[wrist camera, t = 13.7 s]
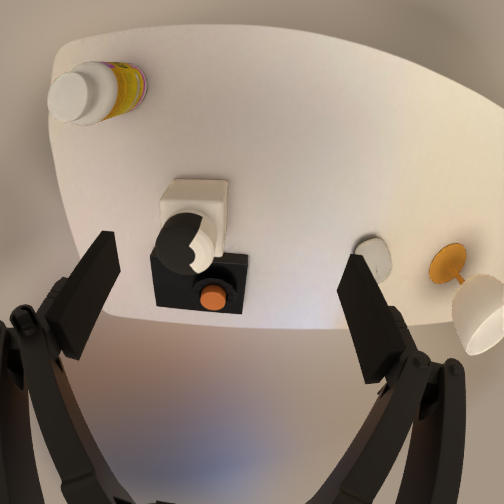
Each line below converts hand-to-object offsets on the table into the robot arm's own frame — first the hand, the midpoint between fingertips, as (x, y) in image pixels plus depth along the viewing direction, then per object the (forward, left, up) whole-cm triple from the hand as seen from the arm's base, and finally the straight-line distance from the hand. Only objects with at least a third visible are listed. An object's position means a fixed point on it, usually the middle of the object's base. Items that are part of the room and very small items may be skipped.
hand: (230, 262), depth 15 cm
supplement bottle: (-17, 0, -22) cm, 28 cm away
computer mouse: (+25, -1, -22) cm, 34 cm away
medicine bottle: (-1, -8, -22) cm, 24 cm away
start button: (+8, -18, -19) cm, 27 cm away
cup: (+40, +8, -22) cm, 47 cm away
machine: (+5, -19, -22) cm, 30 cm away
